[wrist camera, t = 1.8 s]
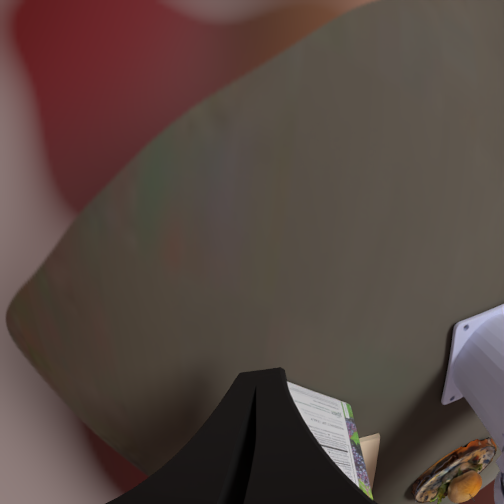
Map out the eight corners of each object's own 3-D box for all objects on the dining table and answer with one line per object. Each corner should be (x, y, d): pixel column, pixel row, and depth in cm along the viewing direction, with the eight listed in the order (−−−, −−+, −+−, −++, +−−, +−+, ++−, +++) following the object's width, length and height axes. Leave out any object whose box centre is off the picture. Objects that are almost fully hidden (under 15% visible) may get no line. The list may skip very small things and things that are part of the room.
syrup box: (307, 445, 20) (315, 603, 6) (241, 424, 19) (214, 599, 5) (350, 401, 18) (394, 583, 4) (280, 375, 18) (278, 596, 4)
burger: (400, 502, 23) (411, 543, 16) (426, 456, 20) (447, 507, 13) (471, 475, 22) (487, 509, 15) (505, 422, 19) (531, 460, 12)
